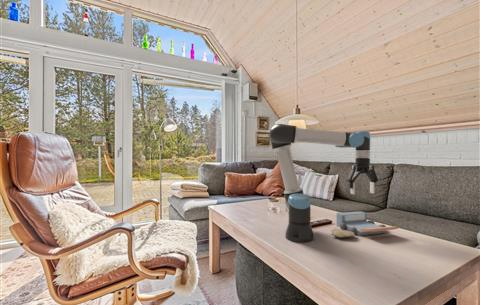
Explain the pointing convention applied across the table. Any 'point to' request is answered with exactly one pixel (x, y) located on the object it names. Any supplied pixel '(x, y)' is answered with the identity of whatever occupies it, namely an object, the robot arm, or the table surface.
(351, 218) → the truck bed
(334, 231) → the seashell
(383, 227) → the tailgate
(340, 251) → the table surface
